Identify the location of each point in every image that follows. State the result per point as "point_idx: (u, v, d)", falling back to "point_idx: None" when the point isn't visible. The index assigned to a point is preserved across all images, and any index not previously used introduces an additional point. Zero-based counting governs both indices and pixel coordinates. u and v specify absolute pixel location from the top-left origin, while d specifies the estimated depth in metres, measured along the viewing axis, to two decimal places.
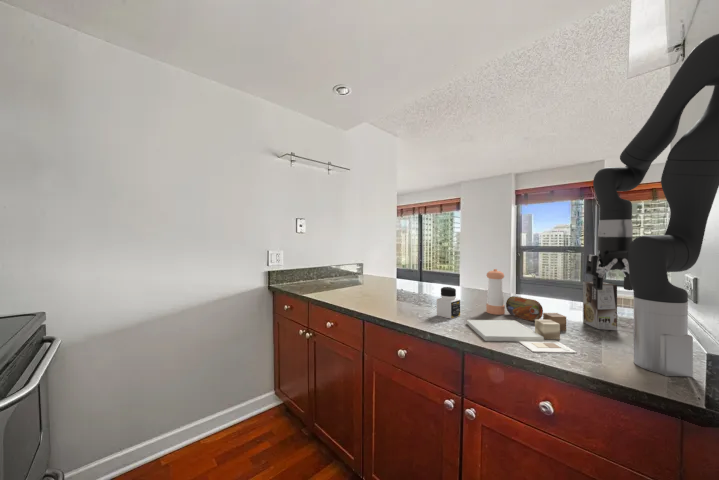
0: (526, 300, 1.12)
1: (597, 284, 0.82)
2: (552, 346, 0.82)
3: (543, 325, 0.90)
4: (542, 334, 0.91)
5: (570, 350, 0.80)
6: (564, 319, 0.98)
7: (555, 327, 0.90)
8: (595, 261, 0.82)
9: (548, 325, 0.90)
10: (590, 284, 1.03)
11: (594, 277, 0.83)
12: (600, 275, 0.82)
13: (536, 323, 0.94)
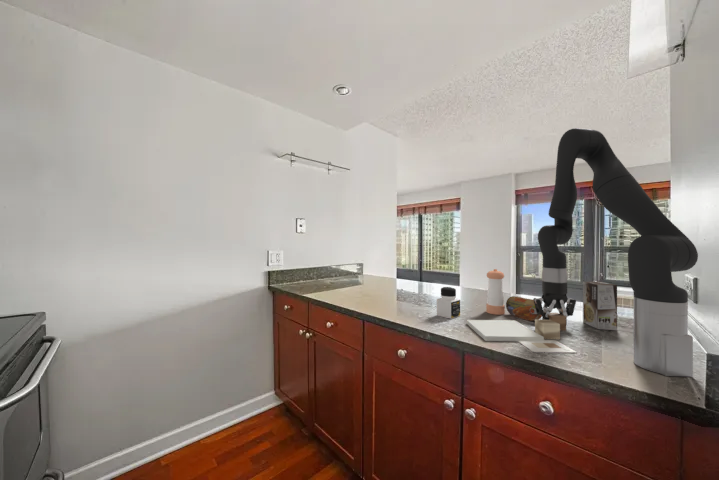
0: (526, 300, 1.12)
1: None
2: (552, 346, 0.82)
3: (543, 325, 0.90)
4: (542, 334, 0.91)
5: (570, 350, 0.80)
6: (564, 319, 0.98)
7: (555, 327, 0.90)
8: (539, 304, 1.00)
9: (548, 325, 0.90)
10: (590, 284, 1.03)
11: (543, 316, 1.01)
12: (547, 315, 1.00)
13: (536, 323, 0.94)
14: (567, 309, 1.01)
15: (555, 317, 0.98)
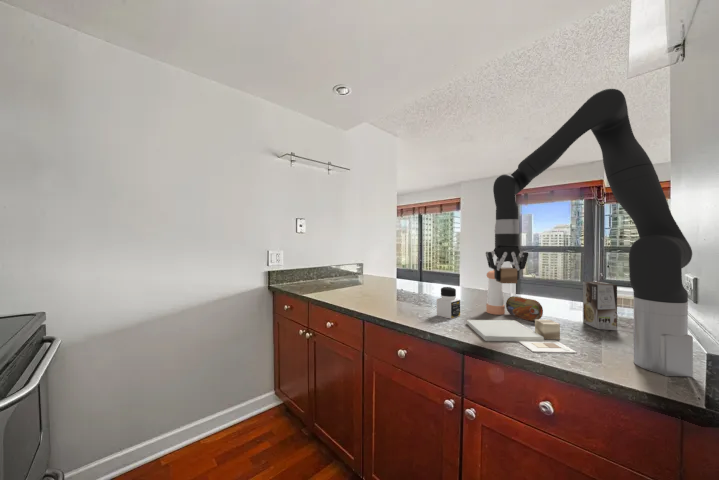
0: (526, 300, 1.12)
1: (496, 276, 0.97)
2: (552, 346, 0.82)
3: (543, 325, 0.90)
4: (542, 334, 0.91)
5: (570, 350, 0.80)
6: (515, 271, 0.95)
7: (555, 327, 0.90)
8: (491, 257, 0.97)
9: (548, 325, 0.90)
10: (590, 284, 1.03)
11: (494, 270, 0.98)
12: (498, 268, 0.97)
13: (536, 323, 0.94)
14: (520, 263, 0.98)
15: (506, 270, 0.96)
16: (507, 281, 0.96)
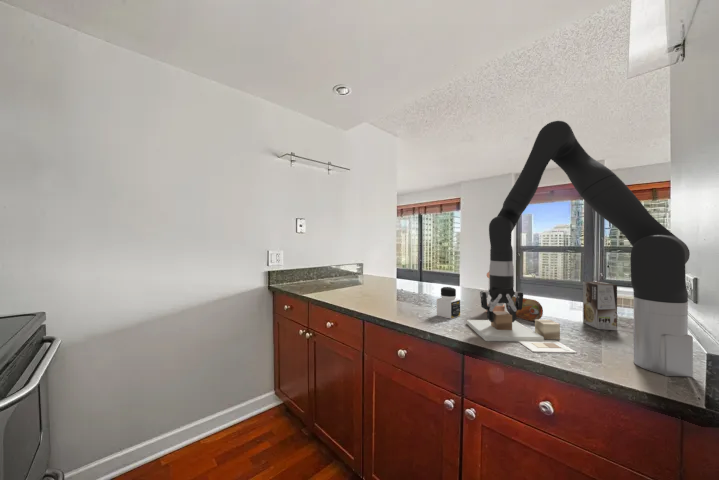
0: (526, 300, 1.12)
1: (489, 317, 0.97)
2: (552, 346, 0.82)
3: (543, 325, 0.90)
4: (542, 334, 0.91)
5: (570, 350, 0.80)
6: (510, 318, 0.94)
7: (555, 327, 0.90)
8: (485, 297, 0.96)
9: (548, 325, 0.90)
10: (590, 284, 1.03)
11: (487, 310, 0.97)
12: (491, 309, 0.96)
13: (536, 323, 0.94)
14: (517, 303, 0.97)
15: (501, 316, 0.95)
16: (502, 327, 0.95)
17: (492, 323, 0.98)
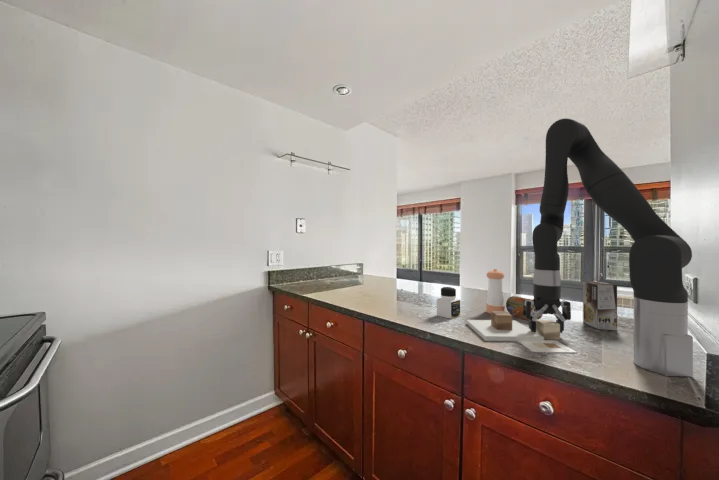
0: None
1: (532, 327, 0.92)
2: (552, 346, 0.82)
3: (543, 325, 0.90)
4: (542, 334, 0.91)
5: (570, 350, 0.80)
6: (510, 318, 0.94)
7: (555, 327, 0.90)
8: (529, 306, 0.92)
9: (548, 325, 0.90)
10: (590, 284, 1.03)
11: (529, 320, 0.93)
12: (534, 319, 0.92)
13: (536, 323, 0.94)
14: (564, 312, 0.93)
15: (501, 316, 0.95)
16: (502, 327, 0.95)
17: (492, 323, 0.98)
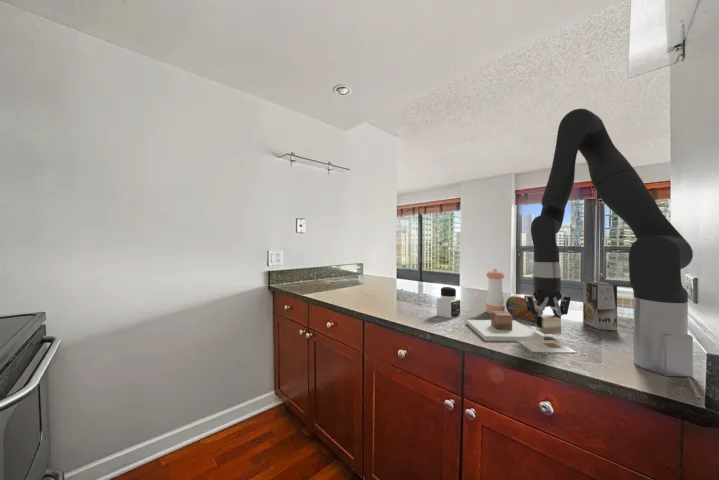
0: None
1: (537, 322, 0.91)
2: (552, 346, 0.82)
3: (544, 319, 0.89)
4: (543, 329, 0.90)
5: (570, 350, 0.80)
6: (510, 318, 0.94)
7: (556, 321, 0.89)
8: (531, 302, 0.91)
9: (549, 319, 0.89)
10: (590, 284, 1.03)
11: (535, 316, 0.92)
12: (539, 314, 0.91)
13: None
14: (561, 307, 0.92)
15: (501, 316, 0.95)
16: (502, 327, 0.95)
17: (492, 323, 0.98)
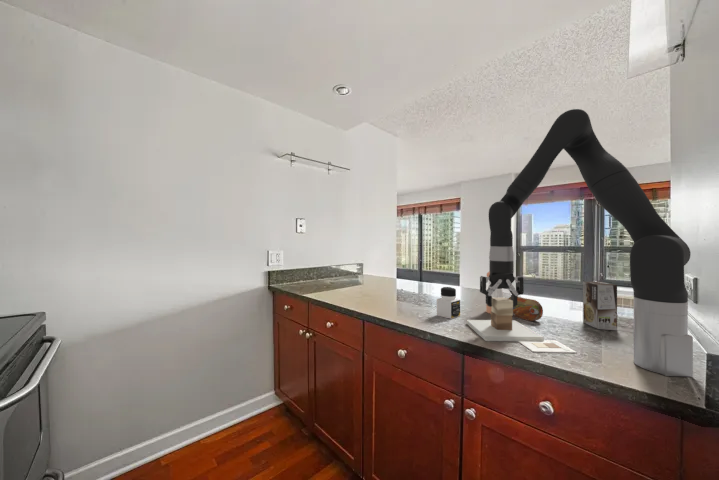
0: (526, 300, 1.12)
1: (488, 301, 0.97)
2: (552, 346, 0.82)
3: (497, 302, 0.95)
4: (496, 310, 0.95)
5: (570, 350, 0.80)
6: (510, 318, 0.94)
7: (508, 303, 0.94)
8: (484, 282, 0.96)
9: (502, 302, 0.94)
10: (590, 284, 1.03)
11: (486, 295, 0.97)
12: (489, 294, 0.96)
13: (492, 301, 0.98)
14: (518, 288, 0.97)
15: (501, 316, 0.95)
16: (502, 327, 0.95)
17: (492, 323, 0.98)
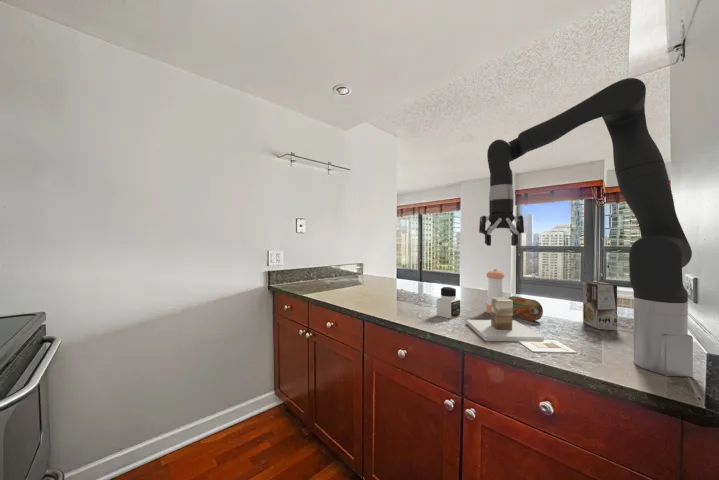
0: (526, 300, 1.12)
1: (487, 240, 0.96)
2: (552, 346, 0.82)
3: (497, 302, 0.95)
4: (496, 310, 0.95)
5: (570, 350, 0.80)
6: (510, 318, 0.94)
7: (508, 303, 0.94)
8: (484, 220, 0.96)
9: (502, 302, 0.94)
10: (590, 284, 1.03)
11: (485, 235, 0.97)
12: (488, 232, 0.96)
13: (492, 301, 0.98)
14: (518, 227, 0.97)
15: (501, 316, 0.95)
16: (502, 327, 0.95)
17: (492, 323, 0.98)
